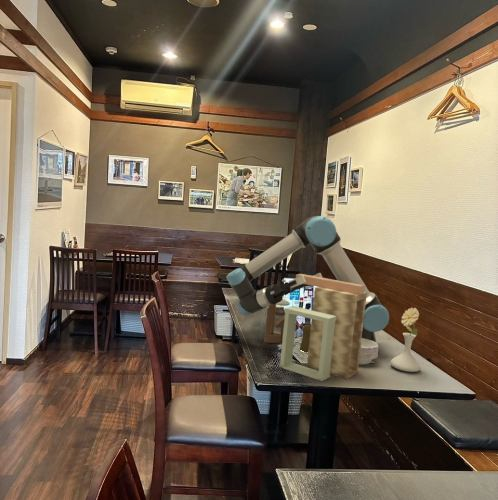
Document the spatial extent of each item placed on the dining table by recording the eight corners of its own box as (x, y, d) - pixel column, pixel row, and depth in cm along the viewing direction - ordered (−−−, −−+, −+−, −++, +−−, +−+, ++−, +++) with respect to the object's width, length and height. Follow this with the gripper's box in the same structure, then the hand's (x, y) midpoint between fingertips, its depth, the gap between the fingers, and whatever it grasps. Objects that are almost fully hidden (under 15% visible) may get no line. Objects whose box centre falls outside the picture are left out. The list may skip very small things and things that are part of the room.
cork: (310, 354, 183) (313, 327, 182) (296, 350, 186) (299, 324, 185) (316, 351, 188) (318, 325, 187) (303, 347, 191) (305, 322, 190)
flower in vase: (387, 362, 181) (394, 301, 179) (416, 365, 180) (424, 304, 178) (394, 374, 168) (402, 308, 166) (425, 377, 167) (434, 312, 165)
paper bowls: (348, 352, 191) (350, 333, 190) (382, 362, 181) (385, 343, 180) (330, 359, 179) (333, 340, 178) (366, 370, 169) (368, 350, 169)
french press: (280, 327, 220) (285, 277, 218) (295, 334, 211) (301, 281, 208) (264, 328, 215) (269, 277, 213) (279, 335, 205) (284, 282, 203)
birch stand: (306, 366, 168) (314, 287, 165) (318, 360, 176) (327, 285, 173) (346, 379, 159) (356, 295, 156) (357, 372, 167) (366, 292, 164)
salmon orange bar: (295, 282, 173) (296, 274, 173) (300, 281, 176) (301, 273, 176) (359, 294, 158) (360, 286, 158) (363, 293, 161) (364, 285, 161)
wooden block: (289, 344, 194) (293, 303, 192) (264, 342, 193) (268, 301, 191) (287, 341, 197) (291, 301, 196) (263, 340, 196) (267, 299, 195)
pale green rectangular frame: (279, 367, 165) (285, 308, 163) (287, 363, 170) (293, 306, 168) (322, 381, 155) (329, 318, 153) (329, 376, 160) (336, 316, 157)
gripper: (289, 300, 192) (331, 283, 180) (255, 308, 172) (300, 289, 160) (283, 284, 193) (324, 266, 182) (249, 290, 173) (292, 270, 162)
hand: (313, 277), depth 171 cm, fingers open, 13 cm apart
